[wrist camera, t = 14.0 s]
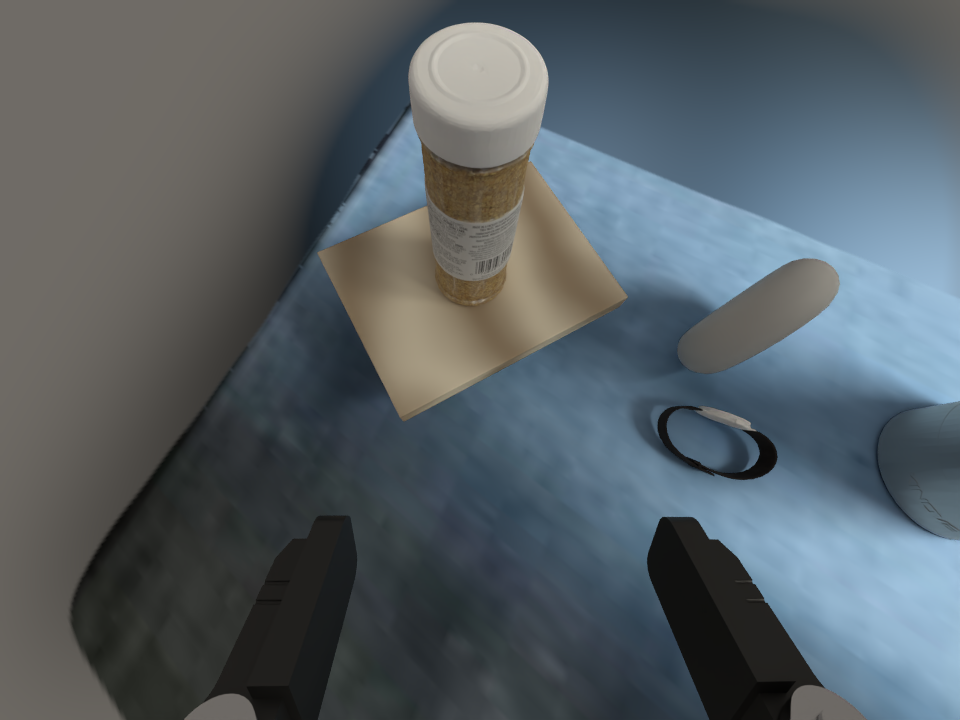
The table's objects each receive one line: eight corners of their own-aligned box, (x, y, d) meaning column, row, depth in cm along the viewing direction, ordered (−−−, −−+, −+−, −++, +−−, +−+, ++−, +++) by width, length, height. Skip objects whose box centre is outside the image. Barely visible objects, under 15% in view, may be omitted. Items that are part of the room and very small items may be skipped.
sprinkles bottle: (491, 237, 26) (520, 3, 14) (516, 297, 25) (574, 102, 12) (424, 256, 26) (388, 29, 13) (447, 318, 24) (432, 137, 12)
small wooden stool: (518, 215, 34) (530, 161, 28) (597, 331, 31) (628, 296, 26) (343, 295, 31) (317, 252, 25) (412, 431, 28) (400, 417, 23)
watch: (759, 433, 30) (799, 426, 26) (748, 495, 28) (788, 497, 25) (660, 393, 30) (685, 382, 27) (644, 453, 29) (669, 448, 25)
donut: (674, 397, 30) (774, 356, 20) (644, 360, 31) (727, 304, 21) (765, 329, 32) (894, 262, 22) (734, 296, 33) (847, 218, 23)
